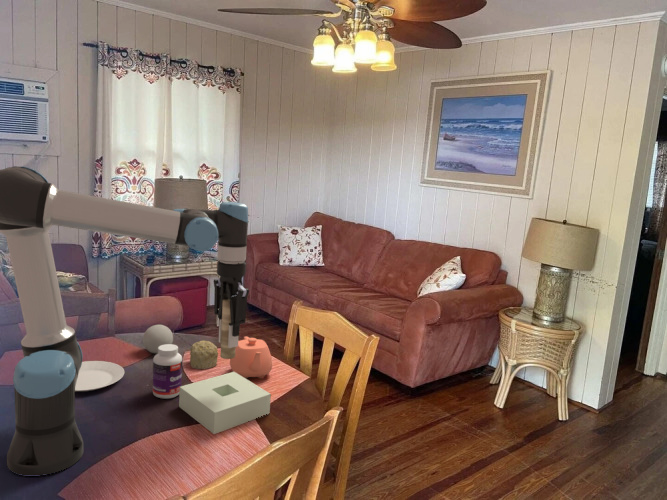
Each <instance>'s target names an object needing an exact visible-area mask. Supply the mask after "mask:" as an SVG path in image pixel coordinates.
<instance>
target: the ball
mask: <svg viewBox="0 0 667 500" xmlns="http://www.w3.org/2000/svg"><path fill="white" fill-rule="evenodd" d="M142 342H143V343H142V344H143V346H144V348H145V350H147V351H148V352H150V353H152V354H155V355H157V354H158V347H159V346H161V345H164V344H173V342H174V334H173V332H172V330H171V329H170V328H169V327H168V326H166V325H163V324H155V325H152V326H150V327H148V328H147V329H146V330H145V331H144V333H143V337H142Z"/></svg>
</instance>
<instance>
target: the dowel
mask: <svg viewBox="0 0 667 500" xmlns="http://www.w3.org/2000/svg"><path fill="white" fill-rule="evenodd" d="M229 323H231V314H230V300H229V299H223V305H222V330H221V343H220V358H221V359H224V360H230V359H232V358H234V357H235V350H236V347H232V348H229V347H228V337H229Z"/></svg>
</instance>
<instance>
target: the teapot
mask: <svg viewBox="0 0 667 500" xmlns="http://www.w3.org/2000/svg"><path fill="white" fill-rule="evenodd" d="M229 365H230V369H231V370H232V371H231V372H235V373H237V374H239V375H240V376H242V377H244V378H245V379H247V380H248V378H258V379H265V377H266V375H269V374H270V373H271V371H272V369H273V360H272V354H271V351H270V349H269V346H268V345H267V342H266V341H265V340H264V339H259V338H258V339H257V338H256V337H249V336H246V335H245V336H243V339H241V340H238V346H236V350H235V357H234V358H232V359H229Z"/></svg>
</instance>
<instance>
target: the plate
mask: <svg viewBox="0 0 667 500" xmlns="http://www.w3.org/2000/svg"><path fill="white" fill-rule="evenodd" d="M124 375H125V369H124V368H123V366H121V365H120V364H117V363H115V362H110V361H106V360H105V361H104V360H85V361H82V365H81V368H80V370H79V374H78V378H77V382H76V386H75V392H89V391H95V390H99V389H102V388H105V387H107V386H110V385H113V384H115V383H116V382H119V381H120V380H121V379H122V378H123V377H124Z"/></svg>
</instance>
